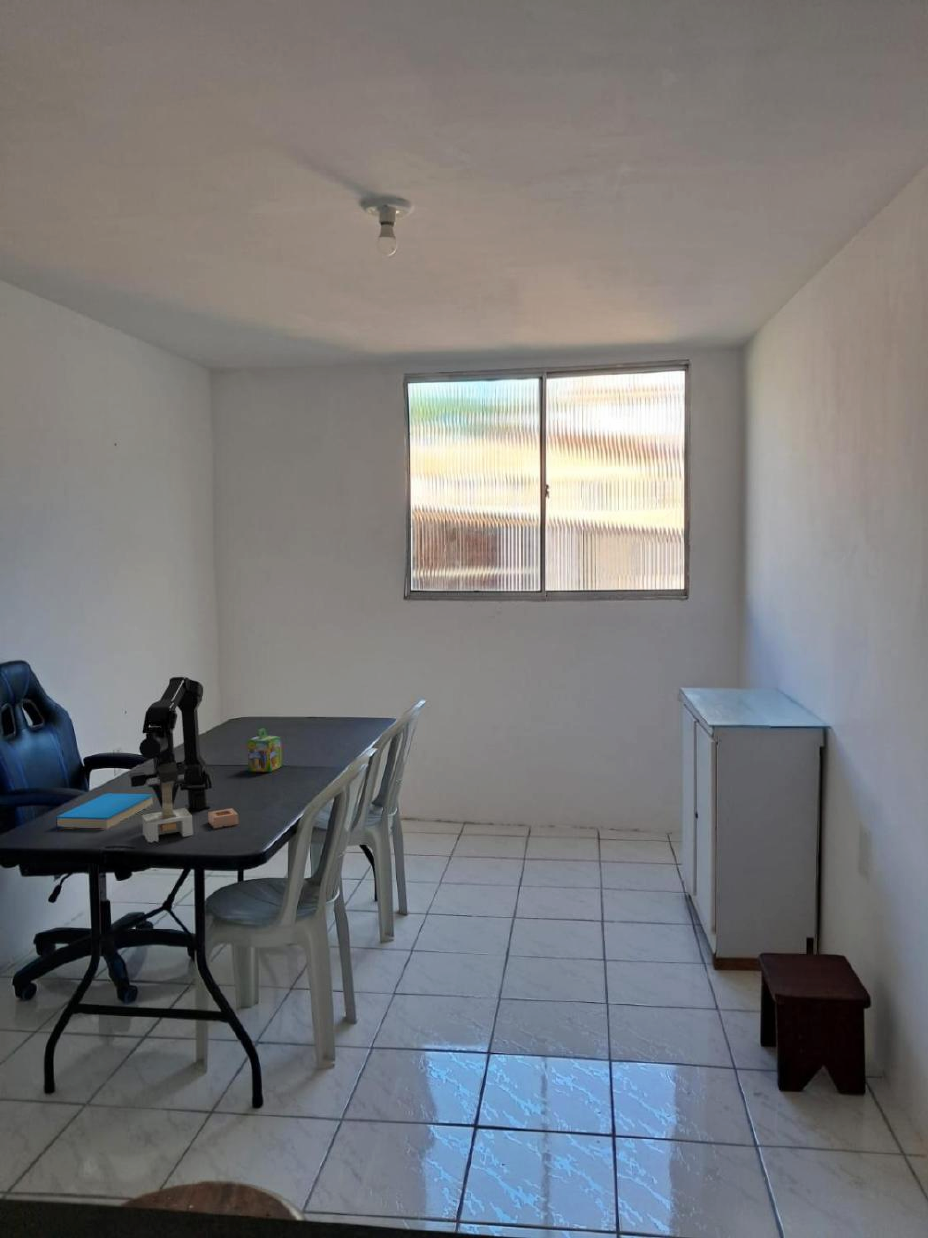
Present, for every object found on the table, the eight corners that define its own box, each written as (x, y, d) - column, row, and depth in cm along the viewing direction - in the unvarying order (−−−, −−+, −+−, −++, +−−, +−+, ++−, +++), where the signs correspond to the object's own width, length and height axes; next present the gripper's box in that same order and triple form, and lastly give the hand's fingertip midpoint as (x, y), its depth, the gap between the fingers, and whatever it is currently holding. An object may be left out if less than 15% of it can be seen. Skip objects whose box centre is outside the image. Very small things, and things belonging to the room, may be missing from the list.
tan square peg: (162, 822, 256) (159, 780, 255) (172, 821, 257) (169, 779, 256) (164, 825, 254) (161, 782, 253) (173, 823, 255) (171, 781, 254)
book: (153, 794, 288) (108, 816, 264) (154, 807, 289) (109, 831, 264) (104, 793, 292) (55, 815, 267) (105, 806, 292) (56, 829, 268)
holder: (208, 822, 268) (208, 812, 267) (232, 818, 271) (231, 808, 271) (214, 828, 261) (213, 818, 261) (238, 824, 265) (237, 814, 264)
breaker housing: (143, 834, 258) (141, 815, 258) (186, 827, 264) (185, 808, 263) (148, 843, 250) (147, 823, 249) (193, 835, 255) (192, 816, 255)
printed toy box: (270, 773, 325) (267, 732, 324) (247, 771, 328) (245, 731, 327) (283, 766, 334) (281, 726, 332) (261, 765, 337) (259, 726, 335)
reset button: (160, 827, 257) (160, 822, 256) (173, 825, 258) (173, 820, 258) (162, 831, 253) (162, 825, 253) (176, 828, 255) (175, 823, 255)
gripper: (132, 760, 243) (136, 818, 244) (203, 751, 251) (207, 806, 253) (126, 753, 252) (130, 808, 254) (195, 744, 261) (198, 797, 262)
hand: (166, 805), depth 255 cm, fingers closed on tan square peg, 3 cm apart
